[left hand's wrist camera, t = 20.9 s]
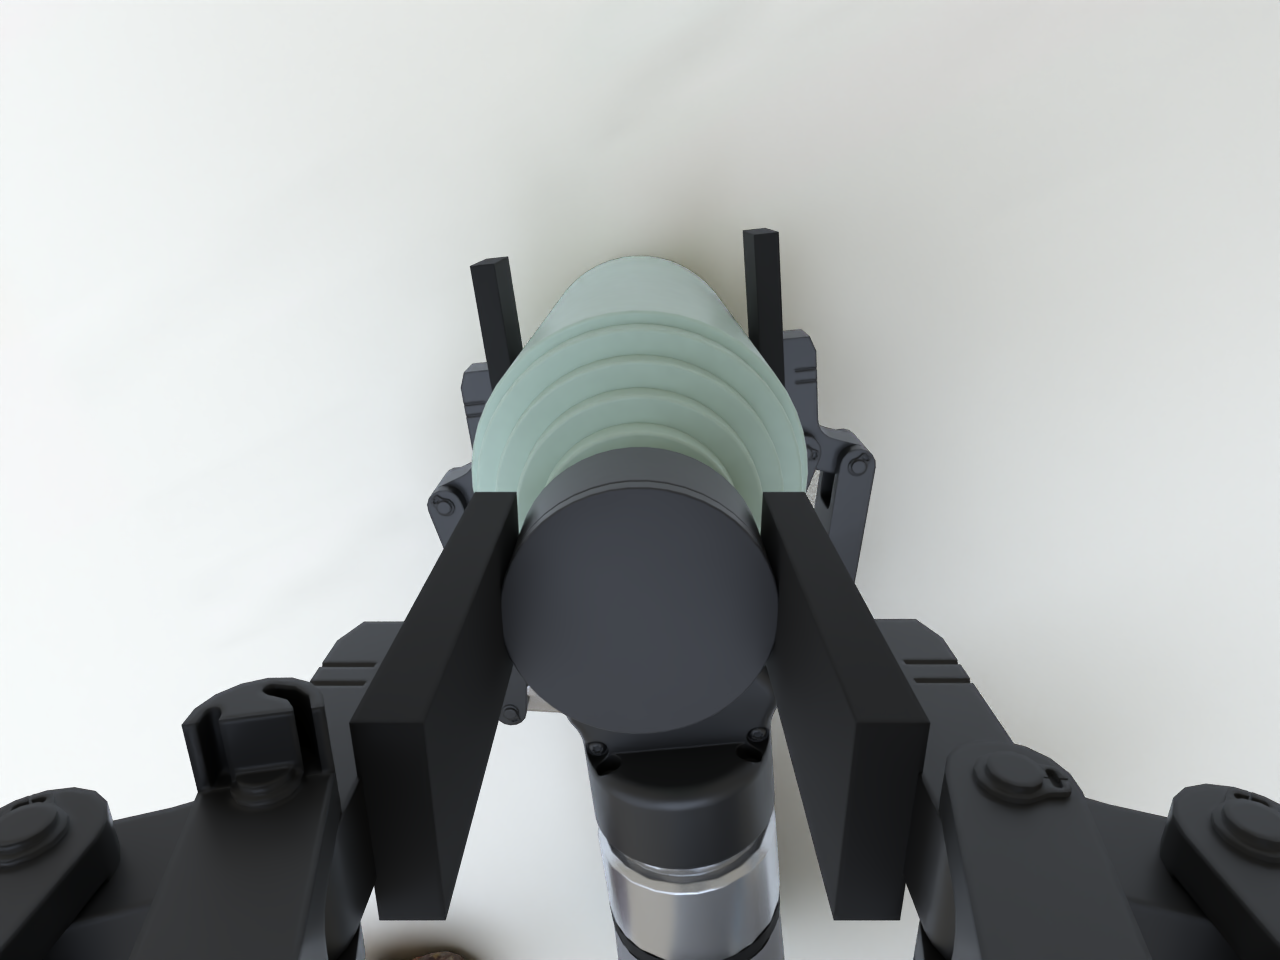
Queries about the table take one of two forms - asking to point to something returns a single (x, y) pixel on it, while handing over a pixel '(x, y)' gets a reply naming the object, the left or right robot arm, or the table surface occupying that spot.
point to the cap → (639, 593)
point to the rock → (440, 956)
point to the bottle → (639, 388)
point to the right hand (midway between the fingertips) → (623, 246)
